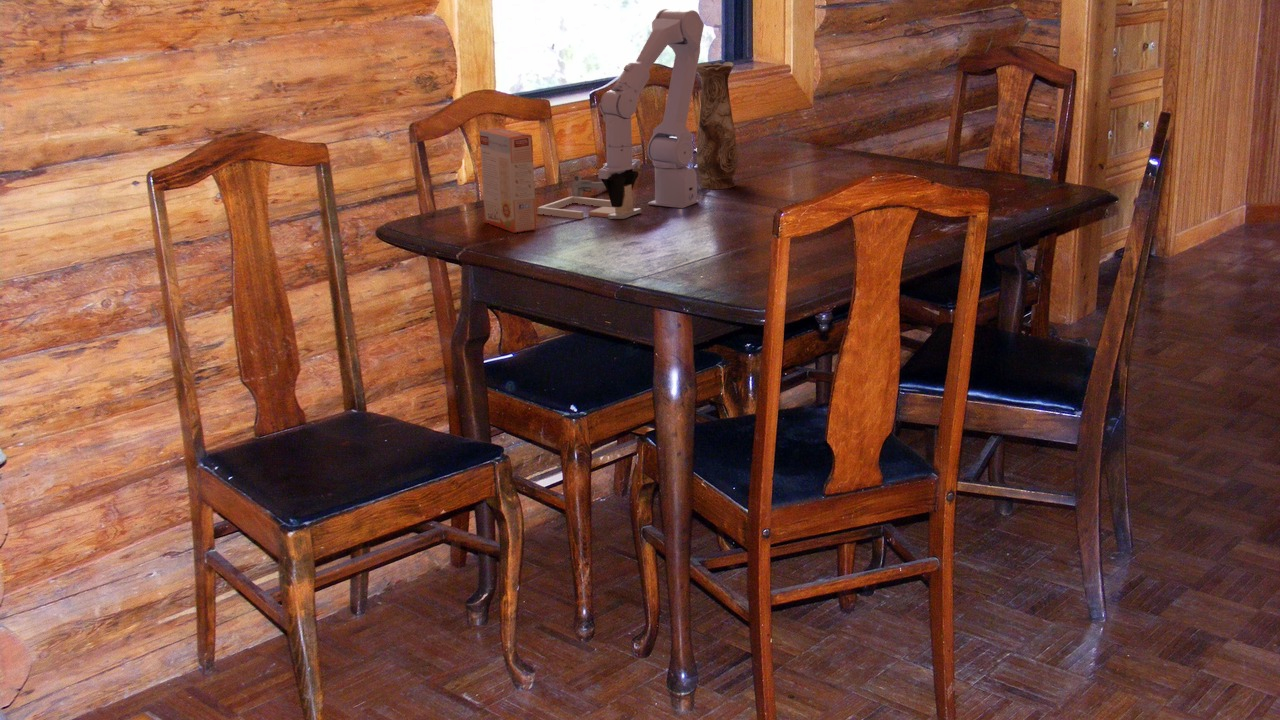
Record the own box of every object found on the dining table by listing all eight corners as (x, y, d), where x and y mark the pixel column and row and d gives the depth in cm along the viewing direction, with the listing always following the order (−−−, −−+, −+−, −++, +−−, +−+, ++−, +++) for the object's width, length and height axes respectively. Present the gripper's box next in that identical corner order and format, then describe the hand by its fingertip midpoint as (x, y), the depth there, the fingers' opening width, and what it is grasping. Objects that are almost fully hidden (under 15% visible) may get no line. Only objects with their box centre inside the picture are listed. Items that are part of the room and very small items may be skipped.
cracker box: (538, 230, 276) (533, 134, 269) (513, 234, 273) (508, 137, 266) (507, 219, 287) (502, 126, 280) (483, 222, 284) (478, 129, 277)
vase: (739, 189, 312) (739, 65, 303) (695, 190, 313) (694, 66, 303) (736, 181, 322) (737, 61, 312) (694, 182, 322) (694, 62, 313)
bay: (614, 207, 297) (614, 200, 296) (581, 219, 285) (580, 212, 285) (572, 202, 303) (571, 196, 302) (537, 213, 291) (537, 207, 291)
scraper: (641, 211, 290) (639, 182, 288) (623, 219, 283) (620, 188, 281) (626, 211, 292) (624, 182, 290) (608, 218, 285) (605, 188, 283)
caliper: (575, 202, 303) (575, 176, 301) (572, 202, 304) (571, 176, 302) (621, 187, 320) (620, 162, 318) (617, 187, 320) (616, 162, 318)
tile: (625, 213, 291) (624, 208, 291) (611, 218, 286) (610, 213, 286) (603, 211, 294) (602, 206, 294) (588, 216, 289) (588, 211, 289)
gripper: (620, 138, 291) (622, 197, 295) (586, 148, 279) (588, 209, 283) (647, 141, 287) (648, 200, 292) (613, 151, 275) (614, 212, 280)
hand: (620, 205), depth 287 cm, fingers closed on scraper, 3 cm apart
